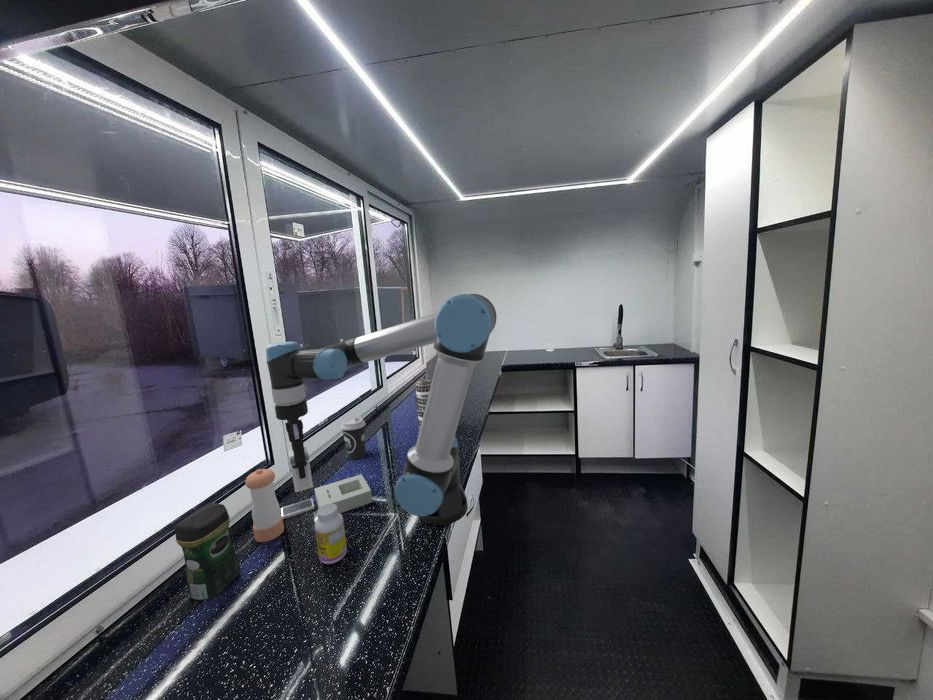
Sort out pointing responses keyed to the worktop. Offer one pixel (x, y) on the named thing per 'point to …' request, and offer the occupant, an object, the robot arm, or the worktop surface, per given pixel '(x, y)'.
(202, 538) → the coffee jar
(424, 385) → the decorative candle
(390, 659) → the worktop surface
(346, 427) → the coffee cup
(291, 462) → the block
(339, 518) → the supplement bottle
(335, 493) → the outlet plate
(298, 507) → the phone
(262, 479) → the pepper shaker
